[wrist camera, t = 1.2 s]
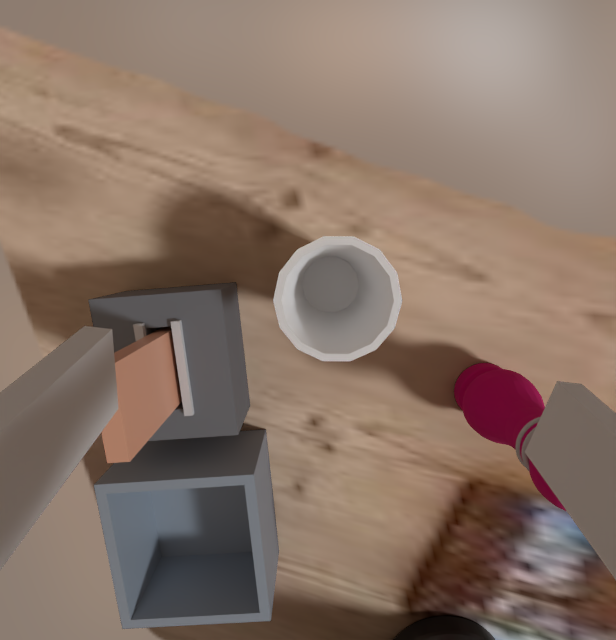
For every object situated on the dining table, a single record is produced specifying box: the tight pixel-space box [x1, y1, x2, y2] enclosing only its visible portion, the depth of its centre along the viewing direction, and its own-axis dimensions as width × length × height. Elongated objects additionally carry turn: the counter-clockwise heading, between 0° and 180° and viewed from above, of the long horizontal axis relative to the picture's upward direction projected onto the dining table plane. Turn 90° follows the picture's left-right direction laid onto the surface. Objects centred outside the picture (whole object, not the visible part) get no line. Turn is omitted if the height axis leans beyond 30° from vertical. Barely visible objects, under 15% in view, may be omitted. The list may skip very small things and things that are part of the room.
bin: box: [94, 429, 279, 629], centre depth 42 cm, size 16×15×9 cm
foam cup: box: [273, 236, 402, 361], centre depth 35 cm, size 10×9×13 cm
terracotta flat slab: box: [101, 326, 182, 463], centre depth 34 cm, size 7×2×15 cm, turn 5°
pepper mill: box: [454, 363, 566, 511], centre depth 33 cm, size 7×7×20 cm
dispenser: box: [89, 282, 250, 441], centre depth 39 cm, size 14×12×8 cm
